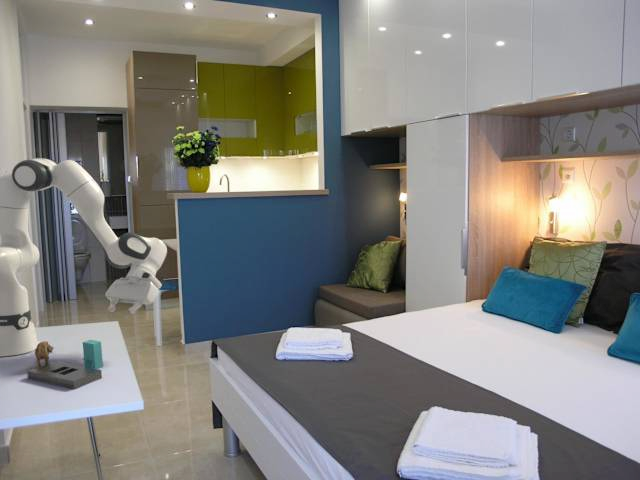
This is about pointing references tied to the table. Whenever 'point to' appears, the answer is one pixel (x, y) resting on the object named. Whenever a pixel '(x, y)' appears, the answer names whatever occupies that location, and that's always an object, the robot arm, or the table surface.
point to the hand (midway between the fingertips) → (120, 312)
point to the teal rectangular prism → (92, 354)
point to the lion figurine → (43, 352)
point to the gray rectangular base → (64, 374)
